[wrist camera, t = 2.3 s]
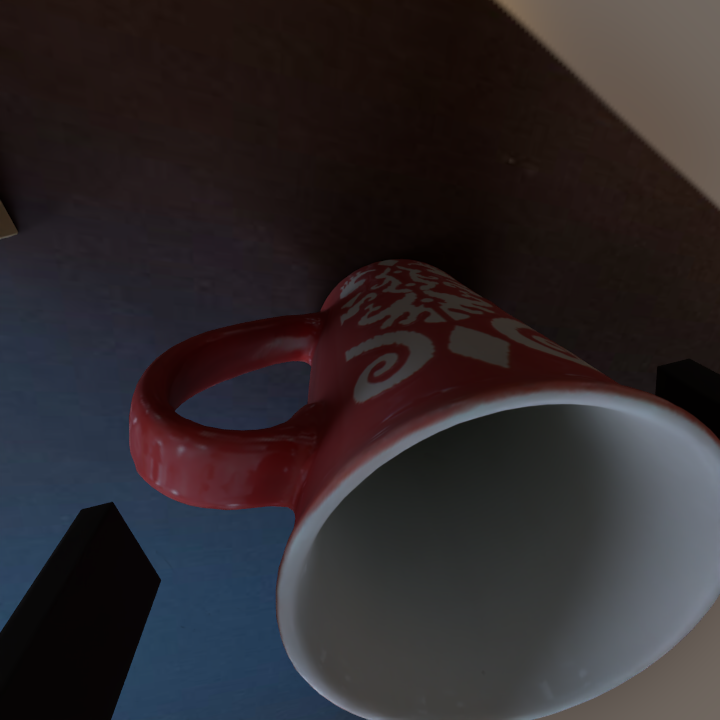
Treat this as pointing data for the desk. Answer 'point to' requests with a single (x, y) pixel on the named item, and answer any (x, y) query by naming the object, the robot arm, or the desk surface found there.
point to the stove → (6, 224)
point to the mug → (450, 500)
